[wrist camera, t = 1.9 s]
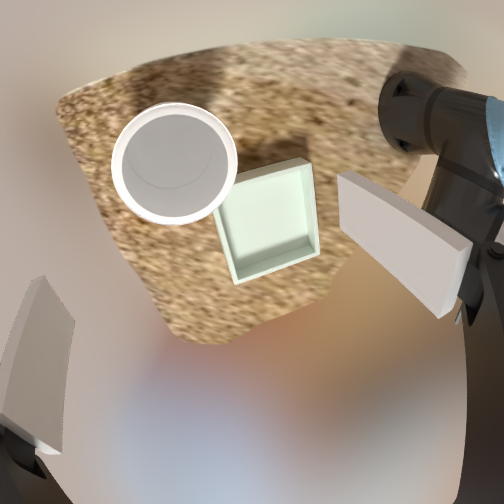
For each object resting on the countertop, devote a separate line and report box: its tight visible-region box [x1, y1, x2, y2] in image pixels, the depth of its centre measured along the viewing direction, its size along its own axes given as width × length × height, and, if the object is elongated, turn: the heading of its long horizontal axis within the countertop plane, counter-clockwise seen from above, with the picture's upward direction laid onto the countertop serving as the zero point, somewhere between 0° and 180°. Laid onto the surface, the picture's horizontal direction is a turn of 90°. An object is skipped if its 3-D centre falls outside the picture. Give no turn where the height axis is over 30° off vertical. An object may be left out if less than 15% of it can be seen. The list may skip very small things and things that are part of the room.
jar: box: [111, 102, 238, 225], centre depth 28 cm, size 11×10×15 cm
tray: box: [212, 157, 320, 285], centre depth 43 cm, size 14×15×4 cm
